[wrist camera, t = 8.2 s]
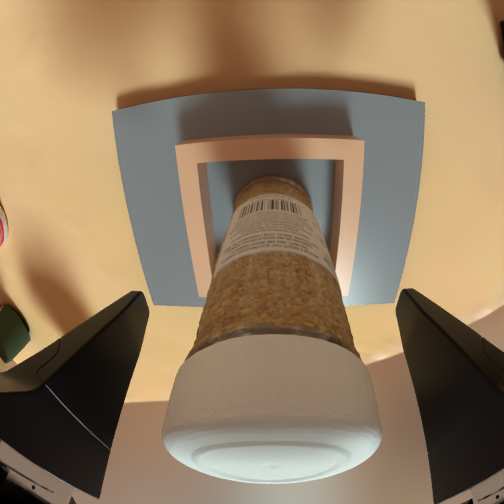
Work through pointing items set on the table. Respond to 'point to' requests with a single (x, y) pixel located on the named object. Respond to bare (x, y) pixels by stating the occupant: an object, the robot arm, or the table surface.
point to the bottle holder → (271, 164)
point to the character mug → (11, 336)
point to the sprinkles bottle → (273, 355)
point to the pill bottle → (3, 227)
